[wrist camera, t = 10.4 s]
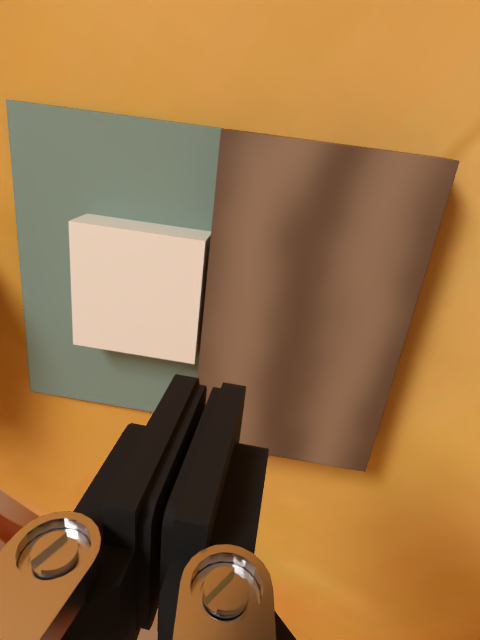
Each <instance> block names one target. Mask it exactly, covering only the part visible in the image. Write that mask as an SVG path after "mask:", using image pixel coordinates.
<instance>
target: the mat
mask: <svg viewBox="0 0 480 640" xmlns="http://www.w3.org/2000/svg"><path fill="white" fill-rule="evenodd" d="M6 105H7V117H8V129H9V140H10V152H11V164H12V176H13V188H14V200H15V212H16V224H17V236H18V248H19V260H20V271H21V283H22V295H23V307H24V319H25V331H26V343H27V355H28V367H29V379H30V391H32V392H38V393H44V394H50V395H56V396H61V397H67V398H73V399H79V400H85V401H91V402H97V403H102V404H108V405H114V406H120V407H126V408H132V409H138V410H143V411H149V412H154V411H155V409H156V407H157V405H158V404H159V402H160V400H161V398H162V397H163V395H164V393H165V391H166V389H167V388H168V386H169V384H170V382H171V381H172V379H173V377H174V376H175V374H179V375H185V376H190V377H196V378H197V376H198V366H199V355H200V352H199V355H198V357H197V359H196V362H195V364H190V363H184V362H178V361H172V360H166V359H159V358H153V357H147V356H141V355H135V354H129V353H123V352H116V351H110V350H104V349H98V348H92V347H86V346H80V345H73V328H72V302H71V275H70V248H69V222H68V221H70V220H72V219H75V218H77V217H80V216H82V215H85V214H94V215H101V216H107V217H114V218H121V219H128V220H135V221H142V222H149V223H156V224H162V225H169V226H176V227H183V228H190V229H197V230H204V231H211V229H212V218H213V207H214V197H215V186H216V176H217V165H218V155H219V144H220V134H221V129H224V128H217V127H209V126H202V125H194V124H187V123H179V122H172V121H164V120H157V119H149V118H141V117H134V116H126V115H119V114H111V113H104V112H96V111H89V110H81V109H74V108H66V107H59V106H51V105H44V104H36V103H29V102H21V101H14V100H6Z"/></svg>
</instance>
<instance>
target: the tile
mask: <svg viewBox="0 0 480 640" xmlns="http://www.w3.org/2000/svg"><path fill="white" fill-rule="evenodd" d="M68 222H69V248H70V275H71V302H72V328H73V345H80V346H86V347H92V348H98V349H104V350H110V351H116V352H123V353H129V354H135V355H141V356H147V357H153V358H159V359H166V360H172V361H178V362H184V363H190V364H195V362H196V359H197V357H198V355H199V352H200V345H201V334H202V324H203V313H204V303H205V292H206V281H207V271H208V260H209V250H210V239H211V231H204V230H197V229H190V228H183V227H176V226H169V225H162V224H156V223H149V222H142V221H135V220H128V219H121V218H114V217H107V216H101V215H94V214H85V215H82V216H80V217H77V218H75V219H72V220H70V221H68Z"/></svg>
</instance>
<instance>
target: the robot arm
mask: <svg viewBox="0 0 480 640" xmlns="http://www.w3.org/2000/svg"><path fill="white" fill-rule="evenodd" d="M199 383H200V382H199V378H196V377H190V376H185V375H179V374H175V376H174V377H173V379H172V381H171V382H170V384H169V386H168V388H167V389H166V391H165V393H164V395H163V397H162V398H161V400H160V402H159V404H158V405H157V407H156V409H155V411H154V413H153V414H152V416H151V418H150V420H149V421H148V423H147V425H146V426H144V425H139V424H133V423H131V424H129V425H128V426H127V427H126V429H125V430H124V432H123V433H122V435H121V436H120V438H119V440H118V441H117V443H116V444H115V446H114V448H113V449H112V451H111V452H110V454H109V456H108V457H107V459H106V460H105V462H104V464H103V465H102V467H101V468H100V470H99V472H98V473H97V475H96V476H95V478H94V479H93V481H92V483H91V484H90V486H89V487H88V489H87V491H86V492H85V494H84V495H83V497H82V499H81V500H80V502H79V503H78V505H77V507H76V508H75V510H74V511H73V512H71V511H63V512H54V513H50V514H47V515H43V516H41V517H39V518H37V519H35V520H33V521H31V522H29V523H28V524H27V525H25V526H24V527H23V528H22V529H21V530H20V531H18V532H17V533H16V534H15V535H14V536H13V537H12V539H11V540H10V541H9V542H8V543H7V544H6V545H5V546H4V547H3V548H2V549H1V550H0V640H137V638H138V634H139V632H140V628H143V629H147V630H149V629H150V628H151V626H152V624H153V621H154V618H155V615H156V611H157V608H158V640H296V639H295V637H294V636H293V635H292V633H291V632H290V631H289V629H288V628H287V627H286V625H285V624H284V623H283V621H282V620H281V619H280V617H279V616H278V615H277V613H276V612H275V611H274V597H273V586H272V582H271V577H270V574H269V572H268V570H267V569H266V567H265V565H264V564H263V562H262V561H261V560H260V559H259V558H258V557H256V556H255V555H254V551H255V544H256V537H257V530H258V523H259V516H260V509H261V502H262V495H263V488H264V481H265V474H266V467H267V459H268V452H269V449H268V448H263V447H257V446H252V445H247V444H241V443H239V441H240V433H241V425H242V418H243V410H244V402H245V394H246V386H242V385H237V384H231V383H225V382H223V384H222V386H221V388H218V387H213V388H212V390H211V393H210V395H209V398H208V401H207V403H206V394H207V386H206V385H200V384H199ZM158 605H159V606H158Z"/></svg>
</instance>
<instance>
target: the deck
mask: <svg viewBox="0 0 480 640" xmlns="http://www.w3.org/2000/svg"><path fill="white" fill-rule="evenodd" d="M458 164H459V161H457V160H452V159H447V158H442V157H434V156H427V155H419V154H412V153H404V152H397V151H389V150H382V149H374V148H367V147H359V146H352V145H344V144H337V143H329V142H322V141H314V140H307V139H299V138H292V137H284V136H277V135H269V134H262V133H254V132H247V131H239V130H232V129H221V134H220V144H219V155H218V165H217V176H216V186H215V197H214V207H213V218H212V229H211V239H210V250H209V260H208V271H207V281H206V292H205V303H204V313H203V324H202V334H201V345H200V355H199V366H198V376H197V378H199V382H200V383H199V384H200V385H206V386H207V394H206V403H207V401H208V398H209V395H210V393H211V390H212V388H213V387H218V388H221V386H222V384H223V382H225V383H231V384H237V385H242V386H246V394H245V402H244V410H243V418H242V425H241V433H240V441H239V443H241V444H247V445H252V446H257V447H263V448H268V449H269V452H268V455H272V456H277V457H283V458H289V459H295V460H300V461H306V462H312V463H318V464H323V465H329V466H335V467H341V468H346V469H352V470H358V471H364V472H365V471H366V468H367V464H368V461H369V458H370V454H371V451H372V448H373V444H374V441H375V438H376V435H377V431H378V428H379V425H380V421H381V418H382V415H383V412H384V408H385V405H386V402H387V398H388V395H389V392H390V388H391V385H392V382H393V379H394V375H395V372H396V369H397V365H398V362H399V359H400V356H401V352H402V349H403V346H404V342H405V339H406V336H407V332H408V329H409V326H410V323H411V319H412V316H413V313H414V309H415V306H416V303H417V300H418V296H419V293H420V290H421V286H422V283H423V280H424V276H425V273H426V270H427V267H428V263H429V260H430V257H431V253H432V250H433V247H434V243H435V240H436V237H437V234H438V230H439V227H440V224H441V220H442V217H443V214H444V211H445V207H446V204H447V201H448V197H449V194H450V191H451V187H452V184H453V181H454V178H455V174H456V171H457V168H458Z"/></svg>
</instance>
